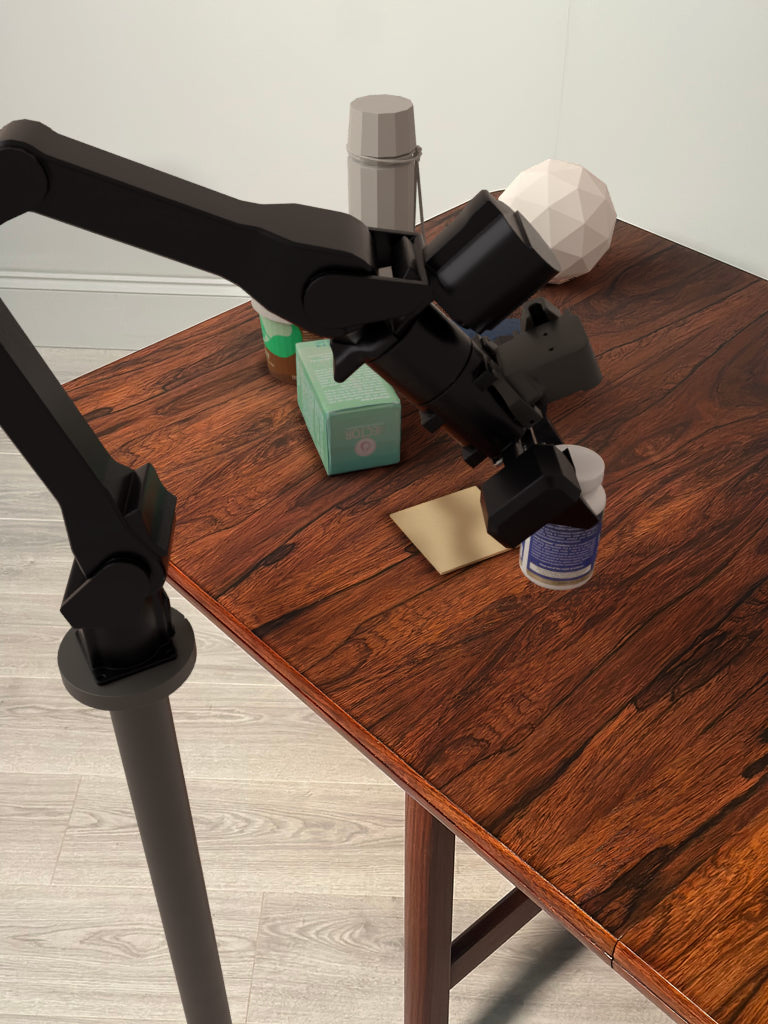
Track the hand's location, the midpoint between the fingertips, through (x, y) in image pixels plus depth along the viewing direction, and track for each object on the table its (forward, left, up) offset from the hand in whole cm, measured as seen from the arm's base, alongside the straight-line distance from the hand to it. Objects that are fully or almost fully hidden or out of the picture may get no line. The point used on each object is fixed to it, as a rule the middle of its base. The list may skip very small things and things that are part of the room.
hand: (584, 498), depth 76 cm
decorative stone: (+11, +31, -12) cm, 35 cm away
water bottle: (+11, +51, -12) cm, 53 cm away
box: (-4, +32, -12) cm, 34 cm away
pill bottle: (-1, +1, -7) cm, 7 cm away
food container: (-4, +47, -12) cm, 48 cm away
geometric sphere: (+35, +52, -12) cm, 64 cm away
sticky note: (-2, +14, -12) cm, 18 cm away
